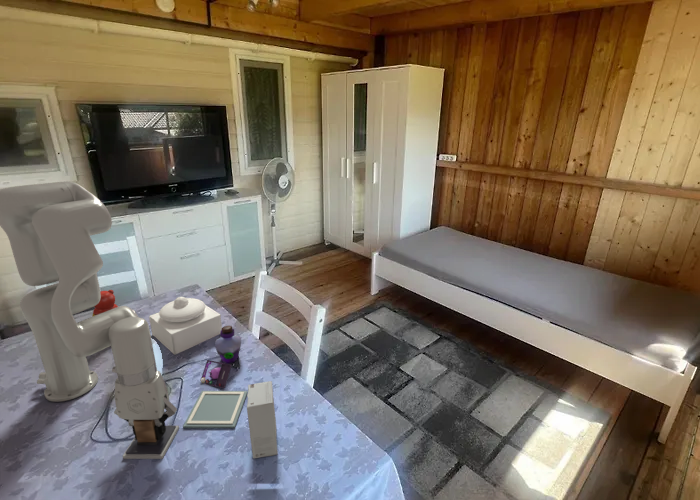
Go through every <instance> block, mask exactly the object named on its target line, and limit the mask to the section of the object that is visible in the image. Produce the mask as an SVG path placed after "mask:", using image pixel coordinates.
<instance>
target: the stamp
mask: <svg viewBox="0 0 700 500" xmlns="http://www.w3.org/2000/svg"><path fill="white" fill-rule="evenodd" d="M133 423H134V428H135V432H136V436H137V441H138V442H137V445H157V444H158V442H159V441H160V440H157V439H156V434H155V430H154V427H155V425H156V424H155V422H154V420H134V421H133ZM160 439H161V438H160Z"/></svg>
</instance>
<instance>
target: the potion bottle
mask: <svg viewBox="0 0 700 500" xmlns="http://www.w3.org/2000/svg"><path fill="white" fill-rule="evenodd" d="M219 335H220V337H219V338H217V339H215V342H214V343H215V344H214V349H216V350H215V351H216V352H217V354H218V355H219V357H220V360H221V362H222V363H225V364H232V363H235V362H236V361H237V360H238V359H239V354H240V350H241V347H242V337H241V336H240V335H237V334H235V329H234V328H233V326H232V325H225V326H222V330H221V332H220V334H219ZM237 358H238V359H237ZM236 359H237V360H236ZM235 360H236V361H235Z"/></svg>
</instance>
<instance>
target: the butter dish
mask: <svg viewBox="0 0 700 500" xmlns="http://www.w3.org/2000/svg"><path fill="white" fill-rule="evenodd" d="M148 319H149V324H150V325H149V326H150V329H151V330H150V331H151V335H152V336H153V337H154V338H156V339H157V340H158V341H159V342H160V343H161V344H162V345H163V346H164V347H165V348H167V350H168V351H170V352H171V353H172V354H173V355H174V356H177V354H180V353H182V352H184V351H187V350H188V349H190V348H193V347H195V346H197V345H200V344H202V343H203V342H205V341H209V340H210V339H212V338H215V337H216V336H218V335H220V332H221V330H222V328H223V326H222V315H221V313H220V312H217V311H215V310H214V309H213V308H211V307H209V306H208V305H206V304H205V302H204V301H202V300H201V299H198V298H193V297H191V298H190V297H184V296H178V297H177V298H176V299H174V300H173V301H170V302H168V303H166V304H164V305H163V306H162V307H161V308H160V310H159V312H157V313H154V314H151V315H149V317H148Z"/></svg>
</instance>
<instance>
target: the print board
mask: <svg viewBox="0 0 700 500" xmlns="http://www.w3.org/2000/svg"><path fill="white" fill-rule="evenodd" d="M247 394H248V390H201V392H200V393H199V395H198V397H197V399H196V401H195V402H194V405H193V407H192V409H191V410H190V412H189V414H188V416H187V418H186V420H185V421H184V424H183V425H182V428H183V429H236V426H237V423H238V420H239V418H240V415H241V413H242V409H243V406H244V404H245V402H246V398H247Z"/></svg>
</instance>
